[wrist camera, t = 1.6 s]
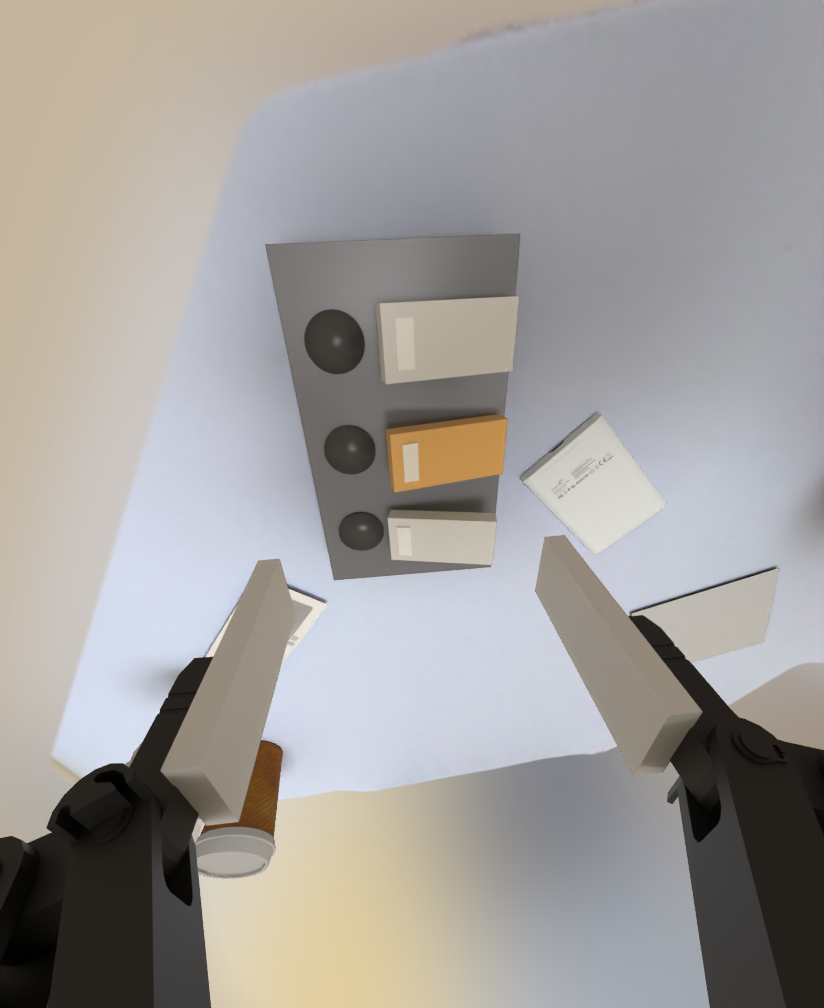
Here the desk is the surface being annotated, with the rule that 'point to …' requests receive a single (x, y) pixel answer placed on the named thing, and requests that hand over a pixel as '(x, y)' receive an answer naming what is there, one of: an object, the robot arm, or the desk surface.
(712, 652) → the paper stack
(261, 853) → the disposable coffee cup
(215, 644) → the white picture frame
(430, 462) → the orange labeled box
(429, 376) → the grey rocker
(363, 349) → the rocker switch box
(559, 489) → the external hard drive
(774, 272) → the desk surface
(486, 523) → the block
